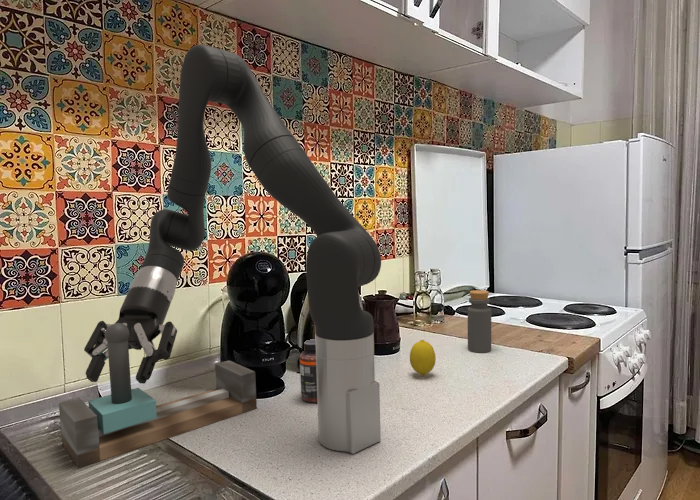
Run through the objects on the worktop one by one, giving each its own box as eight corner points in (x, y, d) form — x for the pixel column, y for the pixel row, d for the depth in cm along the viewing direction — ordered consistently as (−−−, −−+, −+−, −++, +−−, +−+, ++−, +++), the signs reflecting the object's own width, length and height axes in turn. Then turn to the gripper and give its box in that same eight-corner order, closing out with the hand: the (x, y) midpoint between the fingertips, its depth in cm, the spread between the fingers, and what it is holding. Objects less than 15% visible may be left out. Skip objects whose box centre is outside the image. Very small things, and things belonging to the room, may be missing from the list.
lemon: (434, 371, 109) (434, 336, 108) (436, 380, 103) (436, 343, 103) (409, 371, 109) (409, 336, 109) (410, 380, 104) (409, 343, 103)
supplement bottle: (331, 391, 99) (329, 336, 98) (332, 403, 93) (330, 344, 92) (301, 392, 98) (299, 337, 97) (300, 404, 92) (298, 346, 91)
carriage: (139, 404, 85) (133, 315, 84) (156, 417, 80) (150, 322, 78) (89, 418, 80) (82, 323, 79) (103, 434, 74) (96, 332, 73)
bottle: (463, 348, 126) (462, 291, 125) (481, 345, 128) (480, 288, 127) (477, 354, 121) (477, 294, 119) (496, 350, 123) (496, 292, 122)
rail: (230, 394, 99) (228, 360, 98) (256, 408, 91) (255, 371, 91) (62, 445, 79) (58, 402, 78) (78, 468, 71) (74, 422, 71)
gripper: (103, 285, 87) (61, 369, 76) (179, 284, 85) (146, 371, 74) (123, 308, 92) (87, 389, 82) (194, 308, 90) (166, 392, 80)
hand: (115, 380), depth 78 cm, fingers open, 8 cm apart
